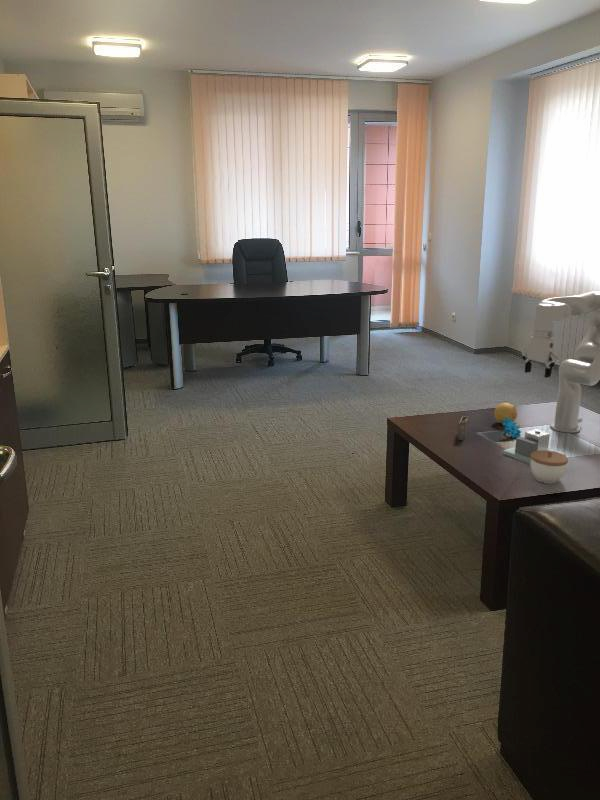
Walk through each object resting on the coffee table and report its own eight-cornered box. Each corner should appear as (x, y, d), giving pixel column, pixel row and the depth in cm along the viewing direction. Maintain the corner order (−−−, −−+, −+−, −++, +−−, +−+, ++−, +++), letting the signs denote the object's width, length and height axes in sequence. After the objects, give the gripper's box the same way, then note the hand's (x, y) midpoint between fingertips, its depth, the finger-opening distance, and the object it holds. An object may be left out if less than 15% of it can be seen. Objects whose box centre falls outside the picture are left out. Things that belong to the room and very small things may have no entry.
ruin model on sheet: (464, 441, 275) (466, 419, 272) (457, 440, 276) (459, 418, 273) (468, 433, 285) (470, 412, 282) (461, 432, 286) (462, 411, 283)
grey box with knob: (533, 447, 263) (536, 428, 261) (547, 452, 258) (550, 432, 256) (522, 451, 259) (525, 431, 257) (536, 455, 254) (539, 435, 252)
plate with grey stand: (531, 445, 270) (533, 428, 268) (565, 457, 257) (567, 439, 255) (502, 453, 260) (504, 436, 258) (536, 466, 247) (539, 448, 245)
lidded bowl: (535, 470, 244) (538, 442, 240) (569, 479, 236) (573, 450, 233) (522, 480, 234) (526, 451, 231) (558, 489, 226) (562, 460, 223)
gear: (512, 437, 274) (501, 417, 278) (502, 444, 278) (491, 424, 282) (527, 436, 281) (515, 416, 285) (516, 442, 285) (506, 423, 289)
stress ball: (496, 428, 294) (514, 418, 288) (486, 409, 297) (504, 398, 291) (506, 427, 301) (524, 417, 295) (497, 408, 304) (514, 398, 298)
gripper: (566, 336, 261) (561, 377, 266) (530, 330, 275) (525, 369, 279) (555, 338, 257) (549, 380, 262) (518, 331, 270) (514, 371, 275)
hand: (537, 374), depth 270 cm, fingers open, 9 cm apart
